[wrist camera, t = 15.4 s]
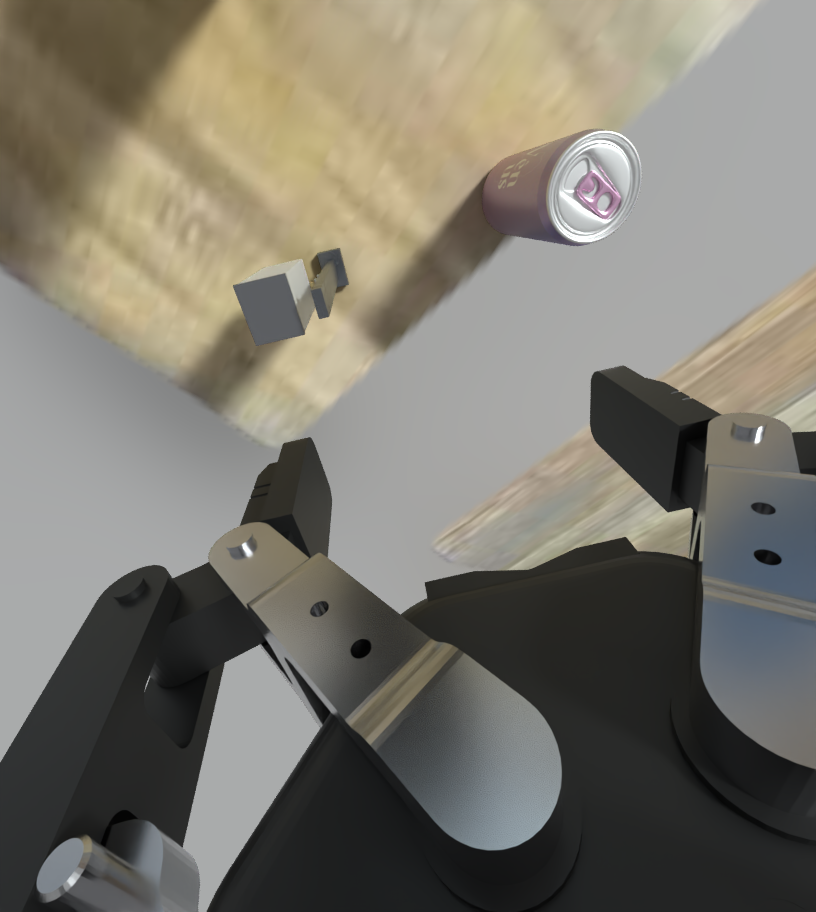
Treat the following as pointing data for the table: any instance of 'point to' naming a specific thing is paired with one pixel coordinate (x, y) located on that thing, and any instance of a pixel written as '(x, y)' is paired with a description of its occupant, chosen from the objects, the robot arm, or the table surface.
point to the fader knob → (276, 302)
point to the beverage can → (565, 189)
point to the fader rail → (328, 281)
